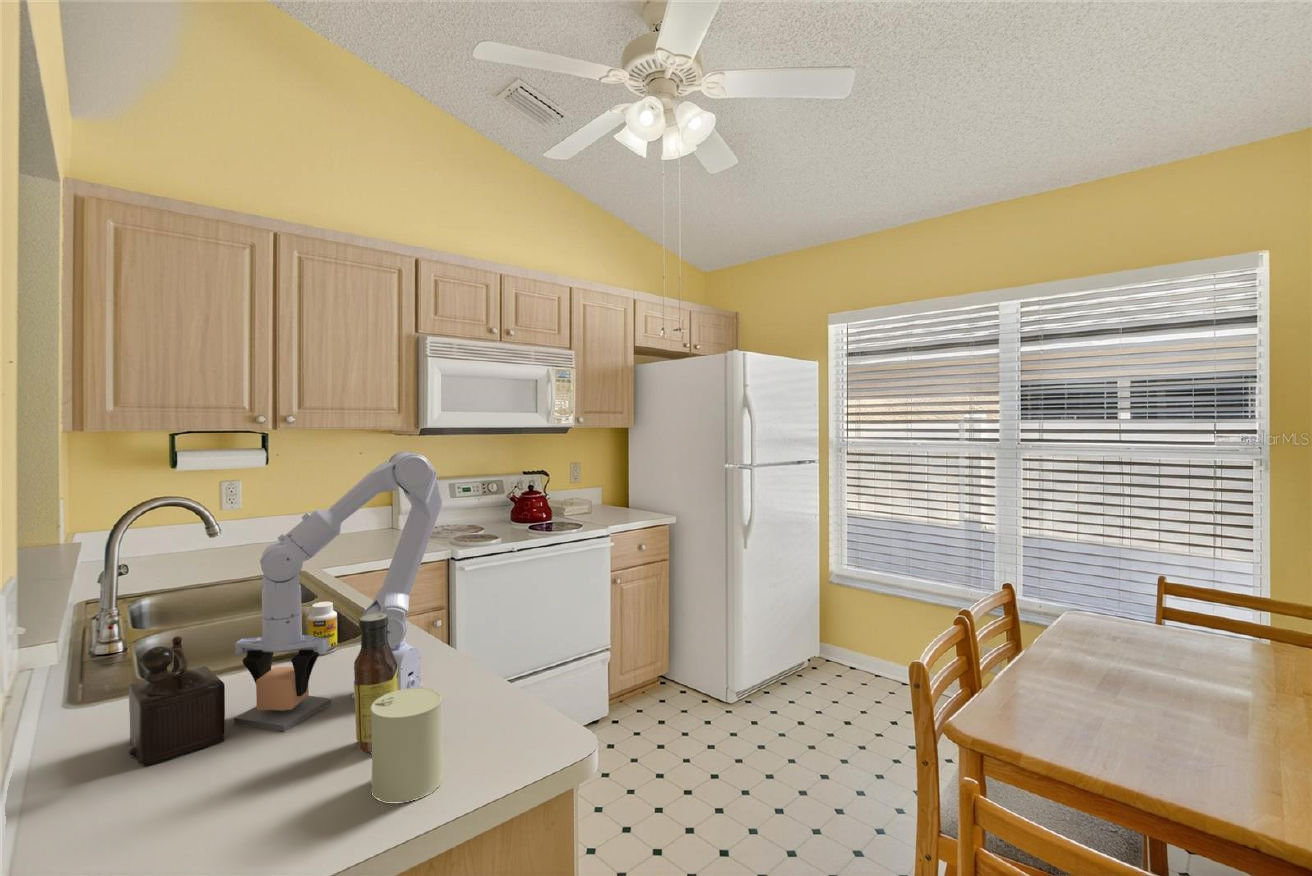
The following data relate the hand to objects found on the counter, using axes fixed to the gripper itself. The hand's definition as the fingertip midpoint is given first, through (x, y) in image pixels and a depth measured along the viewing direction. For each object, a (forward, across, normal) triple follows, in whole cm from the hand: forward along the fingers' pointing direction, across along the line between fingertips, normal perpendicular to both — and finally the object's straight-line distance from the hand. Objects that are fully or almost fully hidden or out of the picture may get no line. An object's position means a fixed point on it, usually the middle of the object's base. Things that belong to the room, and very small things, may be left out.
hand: (283, 694), depth 108 cm
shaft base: (+3, 0, 0) cm, 3 cm away
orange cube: (+1, 0, 0) cm, 1 cm away
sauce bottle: (+4, -20, +10) cm, 23 cm away
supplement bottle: (+4, +7, -29) cm, 30 cm away
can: (+4, -28, +21) cm, 36 cm away
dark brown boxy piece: (+4, +10, +11) cm, 15 cm away
